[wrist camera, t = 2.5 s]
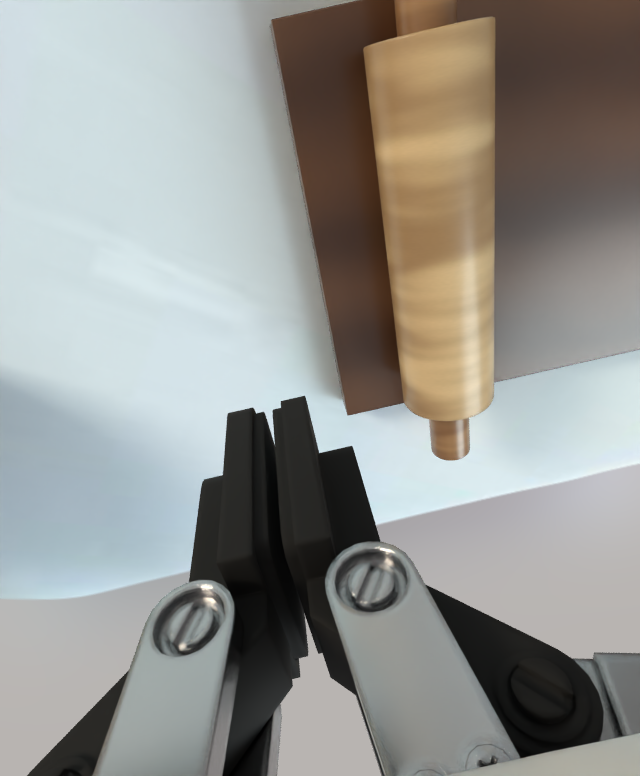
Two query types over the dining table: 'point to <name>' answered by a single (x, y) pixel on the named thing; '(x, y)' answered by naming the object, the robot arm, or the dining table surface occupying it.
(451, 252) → the rolling pin
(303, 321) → the dining table surface
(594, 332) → the pastry board
